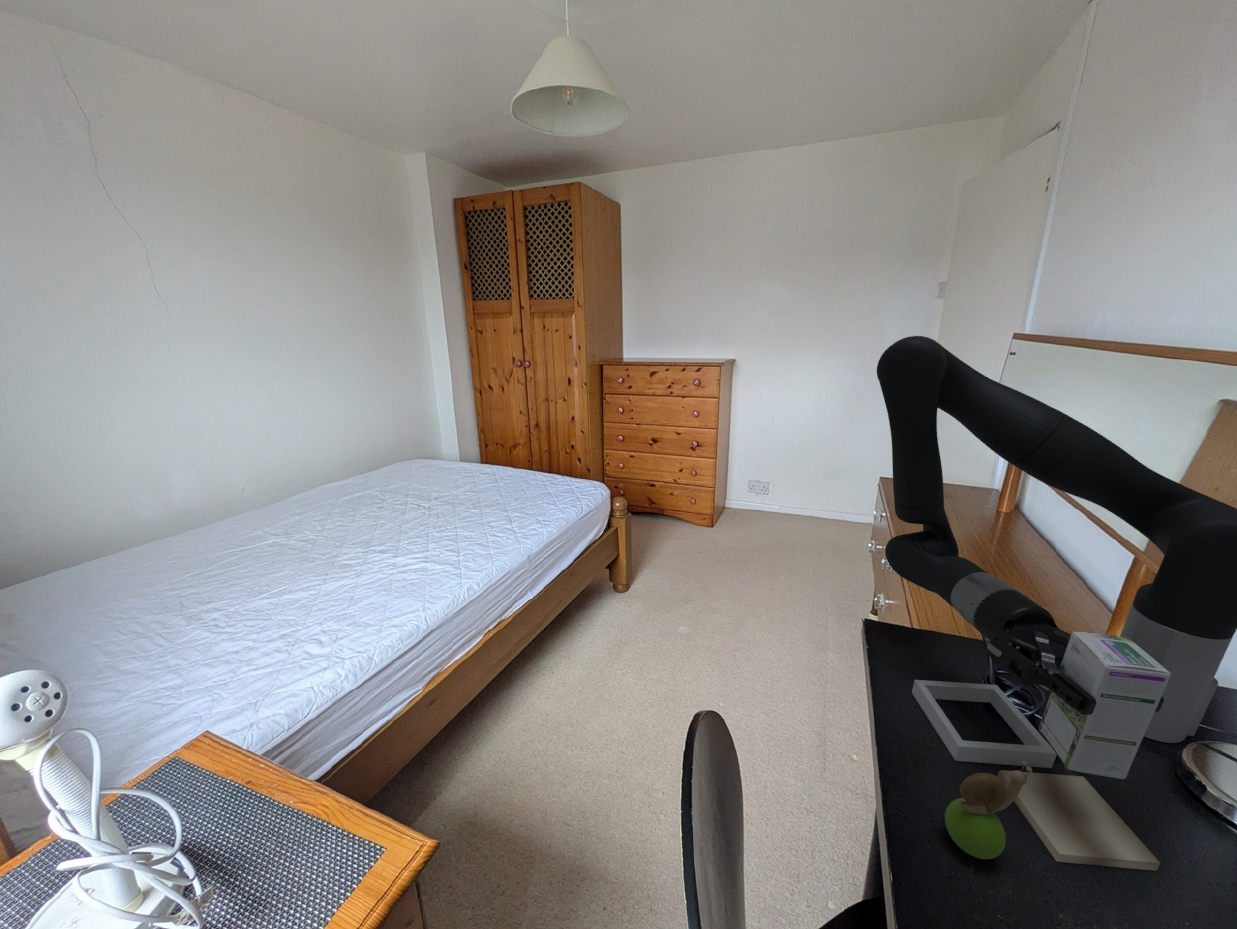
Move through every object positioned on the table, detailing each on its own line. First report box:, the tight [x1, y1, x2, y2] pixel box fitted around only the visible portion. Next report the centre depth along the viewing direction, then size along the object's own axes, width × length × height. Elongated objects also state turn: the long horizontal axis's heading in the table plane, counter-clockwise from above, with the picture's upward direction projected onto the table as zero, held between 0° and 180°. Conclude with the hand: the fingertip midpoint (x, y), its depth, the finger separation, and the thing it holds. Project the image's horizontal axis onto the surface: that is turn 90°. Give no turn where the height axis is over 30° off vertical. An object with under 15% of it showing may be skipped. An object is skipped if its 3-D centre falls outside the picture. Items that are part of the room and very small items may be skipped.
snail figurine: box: [944, 761, 1033, 860], centre depth 52 cm, size 5×6×12 cm
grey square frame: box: [911, 679, 1058, 769], centre depth 69 cm, size 12×12×2 cm
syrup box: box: [1038, 631, 1171, 780], centre depth 53 cm, size 6×6×14 cm
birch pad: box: [996, 769, 1161, 872], centre depth 57 cm, size 10×10×1 cm
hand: (1124, 707), depth 50 cm, fingers closed on syrup box, 7 cm apart
